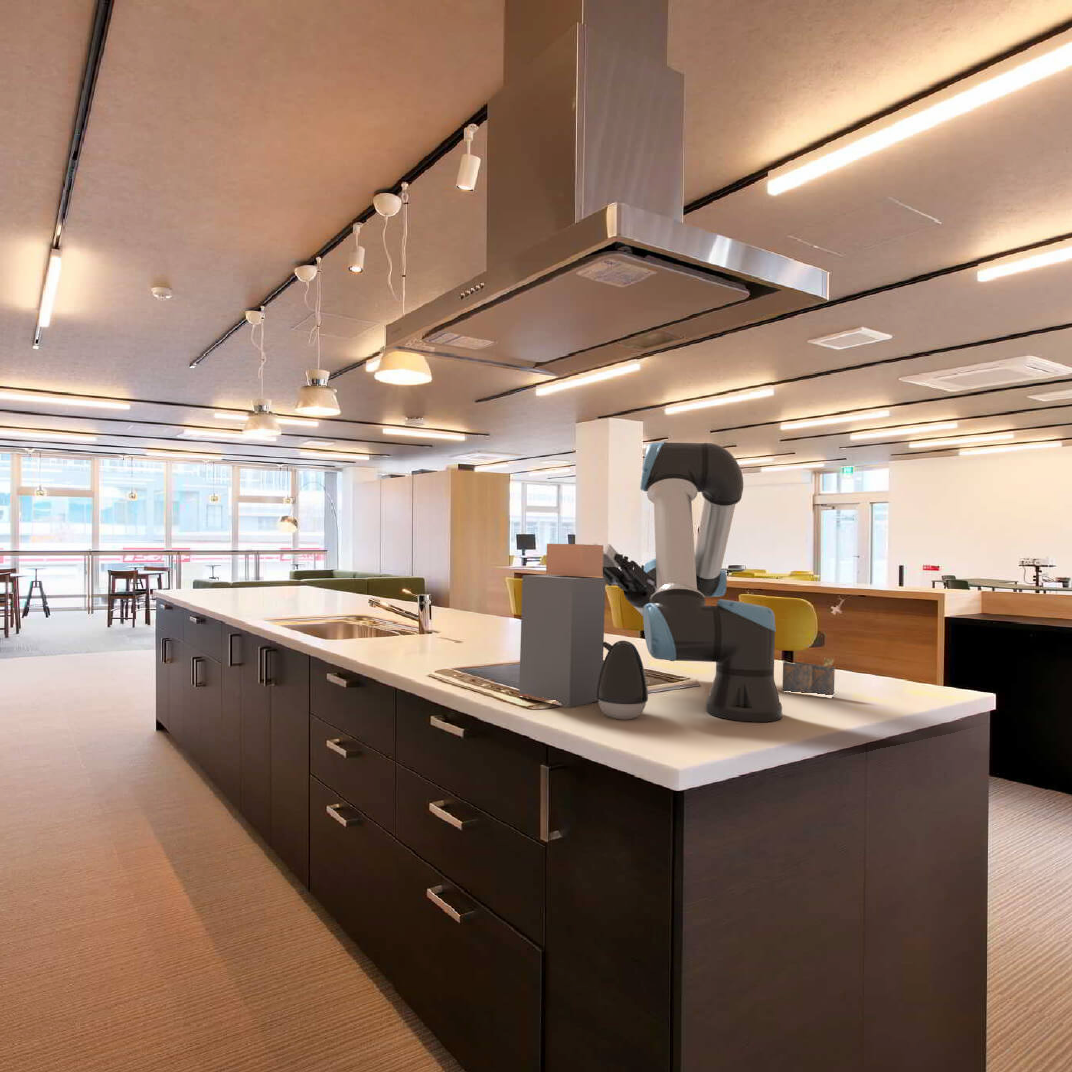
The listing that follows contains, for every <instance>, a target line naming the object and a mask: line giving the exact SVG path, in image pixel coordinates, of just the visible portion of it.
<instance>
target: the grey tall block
mask: <svg viewBox="0 0 1072 1072" xmlns="http://www.w3.org/2000/svg"><path fill="white" fill-rule="evenodd" d="M605 605H606V580H605V578H604V577H597V576H586V577H580V576H563V575H546V574H545V575H543V574H542V575H538V574H537V575H522V585H521V611H520V612H521V619H520V644H519V645H520V649H519V654H520V655H519V683H518V684H519V685H518V689H519V690H518V695H519V694H529V695H533V696H537V697H544V698H547V699H550V700H556V701H558V702H559V703H561V704H562V706H561V707H563V706H565V707H564V708H568V709H570V708H575V707H578V706H583V705H587V704H591V703H594V701H595V702H597V701H596V700H598V699H597V687H598V681H599V676H600V672H601V669H602V666H603V663H604V648H605V647H603V645H602V644H603V642H605V641H604V639H605V610H606V609H605V608H606V607H605Z"/></svg>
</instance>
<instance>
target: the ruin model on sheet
mask: <svg viewBox="0 0 1072 1072" xmlns="http://www.w3.org/2000/svg"><path fill="white" fill-rule="evenodd" d="M834 661H835V658H826V656H824V658H823V663H822V664H814V663H813V664H812V663H807V662H806V663H805V662H794V663H792V662H788V661H784V662H783V663H782V690H783V691H791V692H801V693H817V694H825V695H833V694H834V695H835V678H836V677H835V670H836V668H835V666H833V664H834Z"/></svg>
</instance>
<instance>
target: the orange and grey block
mask: <svg viewBox="0 0 1072 1072" xmlns="http://www.w3.org/2000/svg"><path fill="white" fill-rule="evenodd" d="M603 551H604V545H603V544H602V545H601V544H597V545H593V544H583V543H582V544H581V543H580V544H579V543H578V544H576V543H574V544H573V543H546V559H545V564H546V565H545V566H546V567H545V575H561V576H578V577H603V567H615V566H614V564H613V563H612V562H611V561H610V560H609V559H608V558H607V557H606V556H605V555H604V554H603ZM619 554H620V555H621V556H622V557H623V558H624V554H621V553H619ZM619 568H620V566H619Z"/></svg>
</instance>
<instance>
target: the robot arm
mask: <svg viewBox="0 0 1072 1072" xmlns="http://www.w3.org/2000/svg"><path fill="white" fill-rule="evenodd" d="M642 466H643V467H642V473H641V481H640V490H641V491H643V492H646V496H647V499H648V500H649V501H650V502H651V503H653V515H654V521H653V522H654V541H655V542H654V544H655V546H654V547H655V549H654V552H655V558H653V559H650V560H648V561H646V563H645V564H644V566H643V568H642V567H641V566H640V564H638V563H637V562H636V561H635V560H630V561H629V557H628V556H626V555H625V556H624V555H623V557H622V556H621V555H620V554H621V553H619V552H617V550H616V549H615V548H614V547H613V546H612V545H611V544H610V543H607V544H606V546H605V549H604V550H603V554H604V555H605V556H606V557H607V558H608V559H609V560H610V561H611V562H612V563H613V564H614V566H615V567H603V576H602V578H605V582H606V584H607V585H608V586H609V587H612V586H613V585H616V586H617V587H618V588H619V589H621V590H622V592H623V594H624V598H625V600H626V601H628V602H629V603H630V604H631V605H632V606H633V607H634V608H635V609H636V610H637V612H638V613H639V614H640V615H641V616H642V619H643V632H644V638H645V644H646V648H647V651H648V653H649V655H650V656H651V657H652V658H653V659H656V660H665V661H669V662H675V661H676V662H680V661H681V662H682V661H683V662H703V663H704V662H705V663H706V662H708V663H715V677H714V679H713V682H712V685H711V688H710V691H709V695H708V696H707V699H706V712H707V713H708V714H710V715H712V716H714V717H717V718H721V719H727V720H732V721H740V722H750V723H751V722H753V723H754V722H755V723H756V722H758V723H759V722H761V723H762V722H766V723H767V722H773V721H774V720H775V721H778V720H781V719H782V718H783V705H782V703H781V700H780V697H779V693H778V689H777V685H776V681H775V647H776V645H775V644H776V643H775V641H776V632H777V629H776V617H775V616H776V615H775V612H774V611H773V609H771V608H770V607H767V606H764V605H760V604H759V605H758V604H754V603H748V602H743V601H735V600H730V599H723V598H721V597H723V596H725V594H726V592H727V586H728V577H727V573H726V571H725V570H724V569H722V568H723V562H724V559H725V553H726V549H727V544H728V540H729V536H730V531H731V526H732V522H733V519H734V513H735V508H736V505H737V504H738V503H739V502H740V501H741V499H742V496H743V492H744V477H743V472H742V469H741V467H740V465H739V462H737V459H736V458H735V456H734V455H732V453H731V452H730V451H728V450H727V449H726V448H725V447H724V446H721V445H719V444H716V443H713V442H667V441H659V442H658V441H657V442H651V443H649V444H647V446H646V448H645V451H644V459H643V465H642ZM698 493H701V495H702V497H703V506H702V512H701V518H700V524H699V527H698V529H699V530H698V534H697V539H696V547H695V538H694V536H695V535H694V522H693V510H692V509H693V508H692V507H693V506H692V502H693V501H694V500H695V499H696V498H697V496H698ZM592 545H598V543H592ZM619 566H620V567H619ZM712 597H713V598H715V597H716V598H717V597H720V599H718V601H717V602H716V605H706V598H712ZM781 717H782V718H781Z"/></svg>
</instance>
